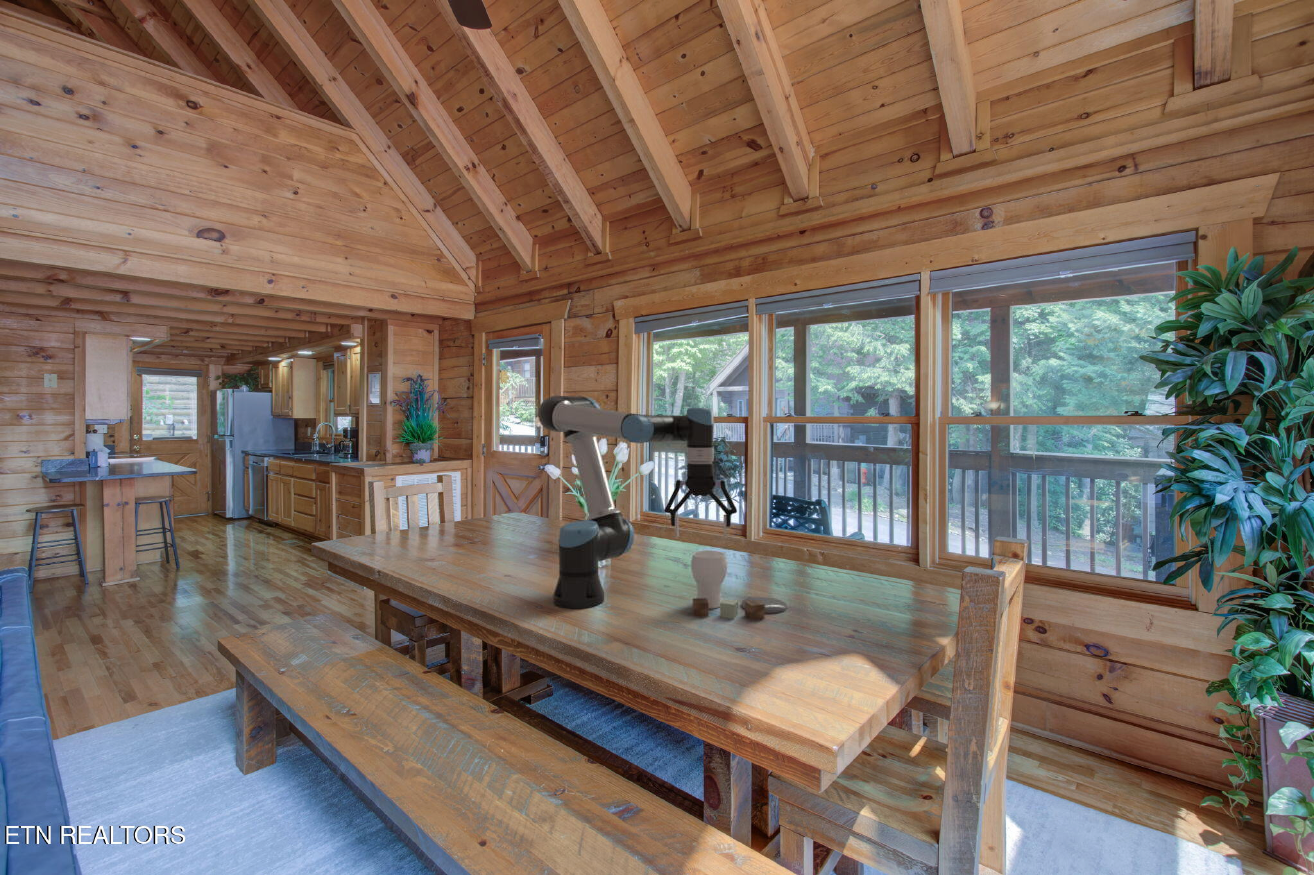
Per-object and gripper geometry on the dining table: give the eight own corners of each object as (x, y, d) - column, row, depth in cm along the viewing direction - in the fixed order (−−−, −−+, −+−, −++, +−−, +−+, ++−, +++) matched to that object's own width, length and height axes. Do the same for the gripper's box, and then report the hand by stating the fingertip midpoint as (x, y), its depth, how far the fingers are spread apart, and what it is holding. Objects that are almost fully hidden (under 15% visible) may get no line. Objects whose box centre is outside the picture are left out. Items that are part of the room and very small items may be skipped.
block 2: (720, 617, 162) (720, 602, 162) (724, 612, 166) (724, 598, 166) (734, 619, 161) (734, 604, 161) (738, 614, 164) (738, 600, 164)
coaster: (741, 612, 166) (741, 609, 166) (741, 598, 179) (741, 596, 179) (788, 614, 164) (788, 611, 164) (784, 600, 177) (784, 597, 177)
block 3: (751, 620, 160) (751, 605, 160) (744, 615, 164) (744, 601, 164) (764, 618, 161) (764, 604, 161) (757, 614, 165) (757, 600, 165)
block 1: (694, 617, 162) (694, 602, 162) (692, 612, 166) (692, 598, 166) (708, 616, 163) (708, 602, 162) (706, 612, 167) (706, 598, 166)
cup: (726, 599, 178) (727, 550, 177) (727, 611, 167) (727, 558, 167) (691, 598, 179) (691, 549, 178) (690, 609, 168) (690, 557, 168)
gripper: (654, 463, 163) (655, 539, 163) (745, 463, 159) (745, 541, 160) (658, 461, 170) (658, 534, 170) (744, 461, 167) (745, 536, 167)
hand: (700, 538), depth 165 cm, fingers open, 13 cm apart
